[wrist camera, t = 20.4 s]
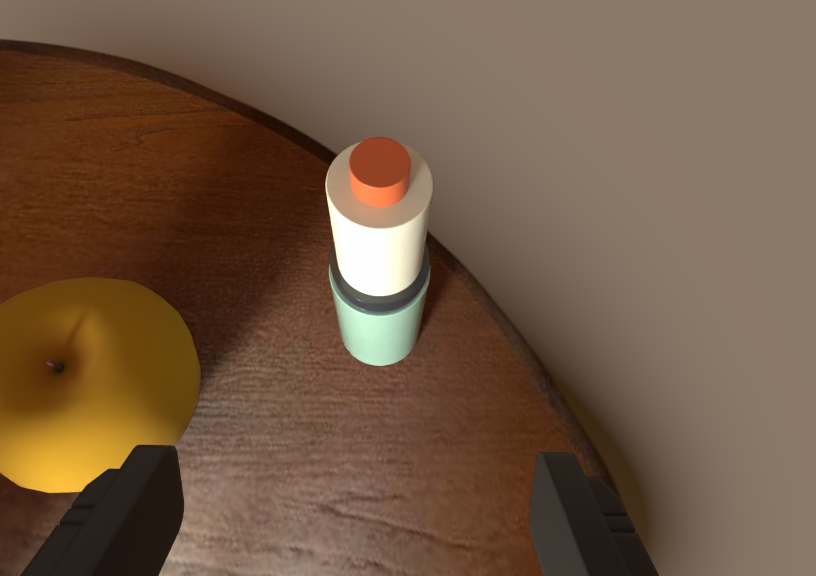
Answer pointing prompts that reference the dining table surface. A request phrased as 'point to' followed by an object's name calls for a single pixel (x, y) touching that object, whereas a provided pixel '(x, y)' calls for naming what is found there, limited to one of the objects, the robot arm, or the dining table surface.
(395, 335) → the celadon jar
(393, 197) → the cream bottle
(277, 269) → the dining table surface
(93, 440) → the apple
